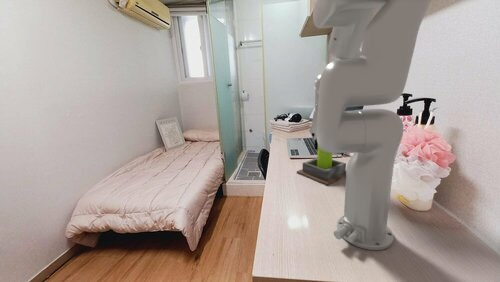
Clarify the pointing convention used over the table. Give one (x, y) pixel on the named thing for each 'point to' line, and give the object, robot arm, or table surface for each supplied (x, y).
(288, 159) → the table surface
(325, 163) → the soap dispenser
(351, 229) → the robot arm
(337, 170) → the box
